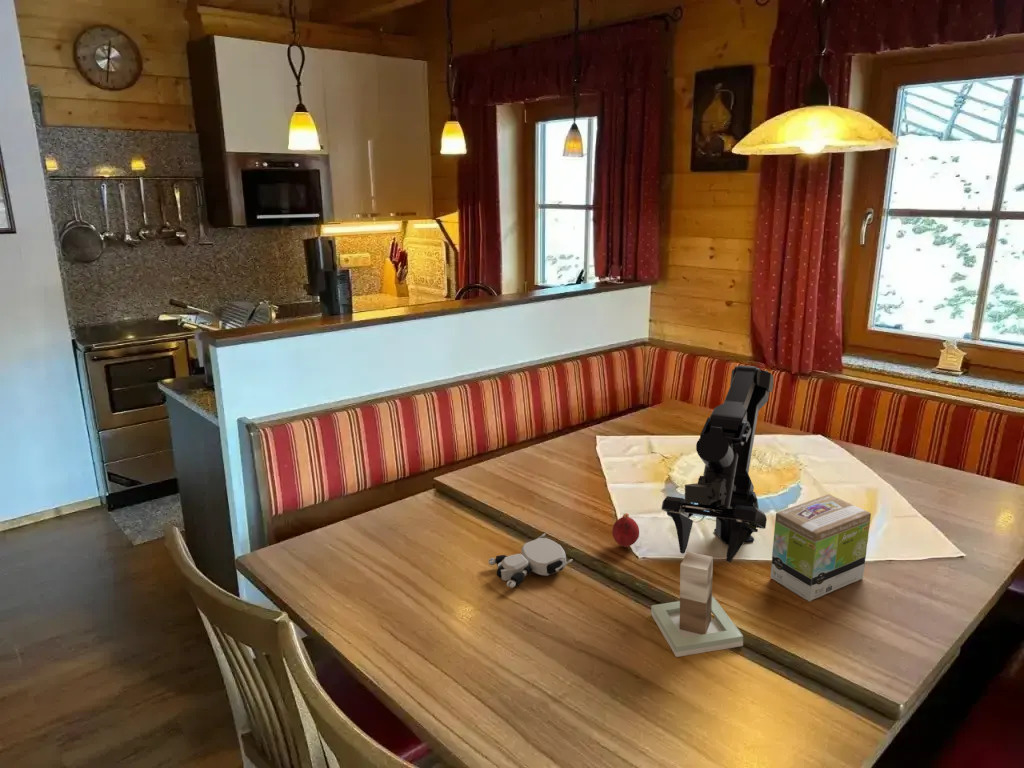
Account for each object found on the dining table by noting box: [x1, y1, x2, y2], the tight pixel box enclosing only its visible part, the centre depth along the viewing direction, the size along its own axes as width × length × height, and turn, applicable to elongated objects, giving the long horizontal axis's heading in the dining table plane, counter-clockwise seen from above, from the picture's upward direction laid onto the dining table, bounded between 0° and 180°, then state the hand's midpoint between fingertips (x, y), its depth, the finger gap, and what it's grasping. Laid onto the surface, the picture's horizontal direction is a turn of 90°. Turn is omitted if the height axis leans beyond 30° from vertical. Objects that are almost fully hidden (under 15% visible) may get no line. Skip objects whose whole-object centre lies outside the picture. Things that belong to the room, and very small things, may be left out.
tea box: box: [769, 494, 872, 602], centre depth 136 cm, size 15×10×15 cm, turn 117°
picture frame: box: [650, 595, 744, 658], centre depth 125 cm, size 12×12×2 cm
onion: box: [611, 512, 640, 548], centre depth 152 cm, size 6×6×8 cm
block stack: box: [679, 551, 714, 635], centre depth 123 cm, size 4×4×13 cm
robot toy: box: [488, 533, 574, 588], centre depth 146 cm, size 12×4×15 cm
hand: (704, 557), depth 130 cm, fingers open, 9 cm apart
